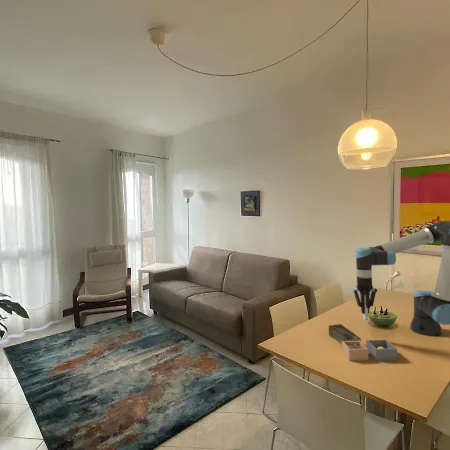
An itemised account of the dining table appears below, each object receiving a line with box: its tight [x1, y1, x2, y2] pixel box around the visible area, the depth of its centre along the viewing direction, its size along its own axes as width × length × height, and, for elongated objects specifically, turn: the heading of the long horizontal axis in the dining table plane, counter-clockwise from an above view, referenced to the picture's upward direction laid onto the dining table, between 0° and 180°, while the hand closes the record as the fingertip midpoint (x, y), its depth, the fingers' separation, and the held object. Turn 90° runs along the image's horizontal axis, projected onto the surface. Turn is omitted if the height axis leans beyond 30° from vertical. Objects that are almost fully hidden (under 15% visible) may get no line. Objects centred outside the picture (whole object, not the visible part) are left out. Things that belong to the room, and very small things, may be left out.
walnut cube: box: [348, 344, 362, 349], centre depth 148 cm, size 4×4×4 cm
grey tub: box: [365, 339, 398, 362], centre depth 148 cm, size 10×10×6 cm
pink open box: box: [341, 340, 369, 362], centre depth 148 cm, size 9×9×6 cm
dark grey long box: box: [328, 323, 362, 345], centre depth 165 cm, size 8×19×7 cm, turn 11°
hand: (365, 319), depth 165 cm, fingers closed
